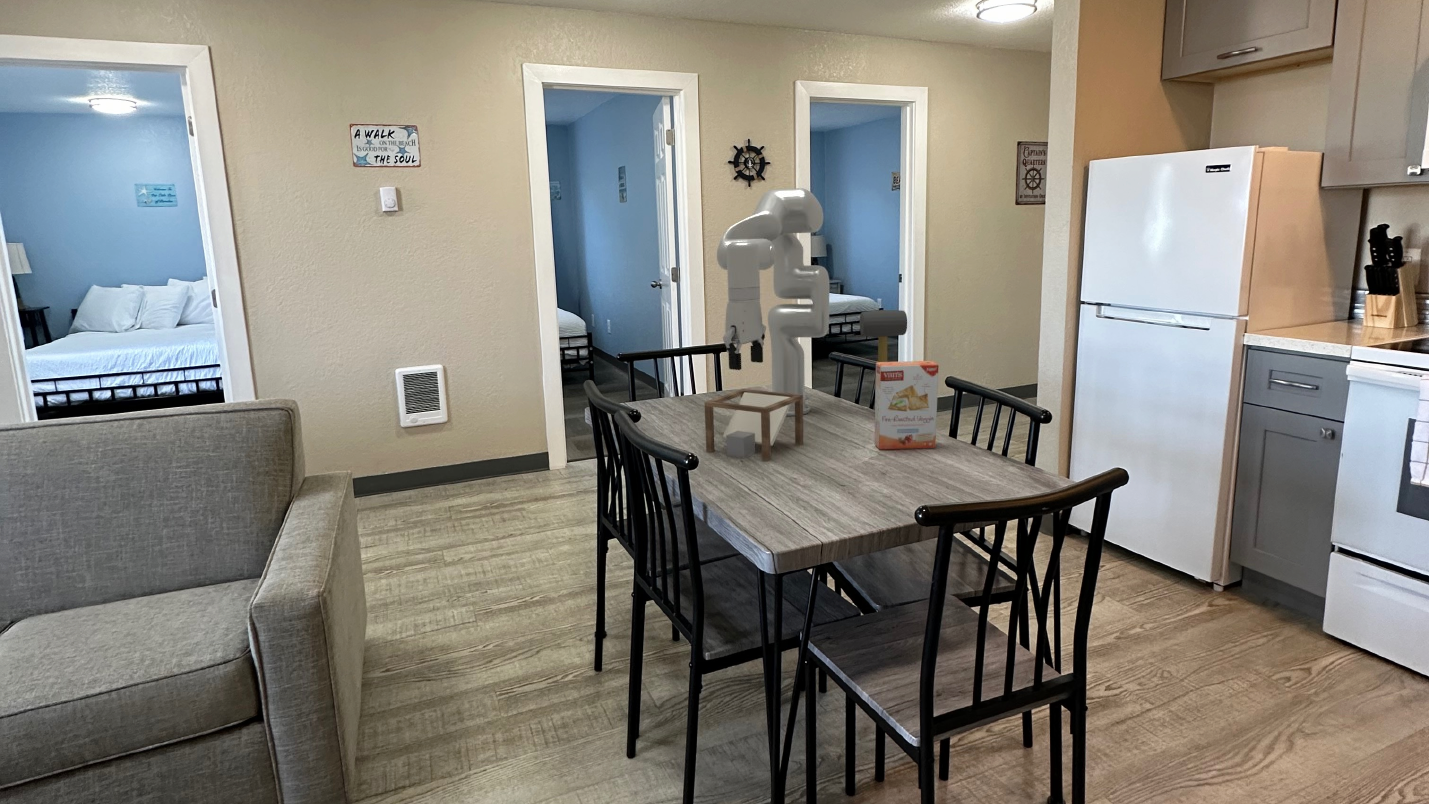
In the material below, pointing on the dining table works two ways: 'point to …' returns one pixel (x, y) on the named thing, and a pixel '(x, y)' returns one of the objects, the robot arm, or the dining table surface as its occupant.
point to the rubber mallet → (883, 327)
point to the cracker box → (906, 404)
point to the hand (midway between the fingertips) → (746, 365)
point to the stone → (740, 444)
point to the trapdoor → (757, 416)
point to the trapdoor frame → (763, 410)
